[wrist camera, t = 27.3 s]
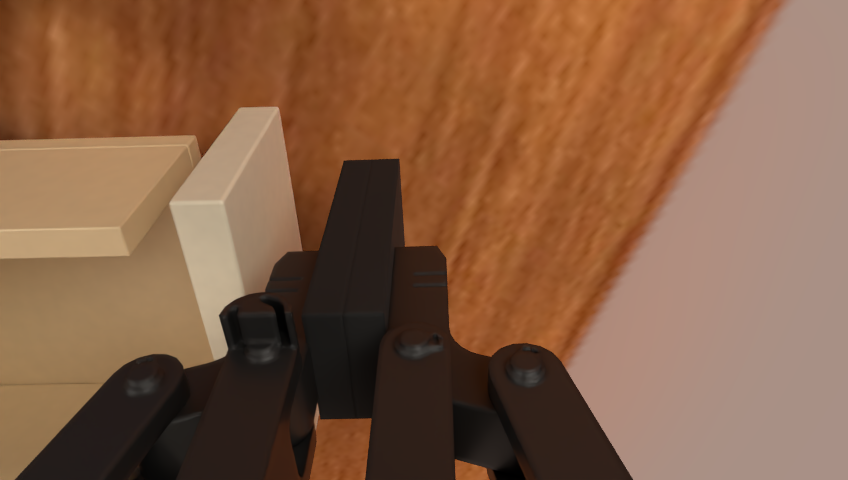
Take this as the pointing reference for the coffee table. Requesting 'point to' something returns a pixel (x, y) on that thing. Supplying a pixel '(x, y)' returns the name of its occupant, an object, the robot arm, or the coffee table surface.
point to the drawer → (127, 260)
